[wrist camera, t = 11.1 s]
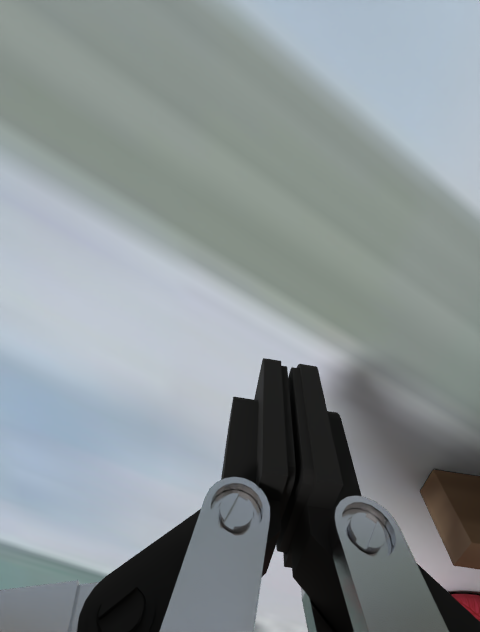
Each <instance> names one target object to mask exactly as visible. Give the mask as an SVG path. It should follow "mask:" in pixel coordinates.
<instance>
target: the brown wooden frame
mask: <svg viewBox="0 0 480 632" xmlns="http://www.w3.org/2000/svg"><path fill="white" fill-rule="evenodd" d="M420 493H421V495H422V497H423V499H424V502H425V504H426V506H427V508H428V510H429V512H430V515H431V517H432V519H433V521H434V523H435V526H436V528H437V530H438V532H439V534H440V537H441V539H442V541H443V543H444V545H445V548H446V550H447V552H448V554H449V556H450V559H451V561H452V563H453V565H454V566H461V567H467V568H474V569H480V476H473V475H467V474H460V473H454V472H447V471H440V470H434V469H433V471H432V472H431V474H430V476H429V477H428V479H427V481H426V482H425V484H424V486H423V487H422V489H421V490H420Z"/></svg>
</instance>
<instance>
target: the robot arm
mask: <svg viewBox="0 0 480 632" xmlns="http://www.w3.org/2000/svg"><path fill="white" fill-rule="evenodd" d="M275 546H276V547H277V551H279V552H284V567H290V568H292V571H293V578H294V579H295V580H296V581H297V583H298V584H299V585H300V586H301V592H302V602H303V607H304V612H305V617H306V623H307V628H308V632H480V621H479V620H478V619H477V618H475V617H474V616H473V615H472V614H471V613H470V612H469V611H468V610H467V609H466V608H465V607H464V606H462V605H461V604H460V603H459V602H458V601H457V600H456V599H455V598H454V597H453V596H452V595H451V594H449V593H448V592H447V591H446V590H445V589H444V588H443V587H442V586H441V585H440V584H439V583H438V582H436V581H435V580H434V579H433V578H432V577H431V576H430V575H429V574H428V573H427V572H426V571H425V570H423V569H422V568H421V567H420V566H419V565H418V564H417V563H416V561H415V559H414V557H413V555H412V553H411V551H410V549H409V546H408V544H407V542H406V540H405V538H404V536H403V534H402V532H401V530H400V528H399V526H398V524H397V523H396V521H395V519H394V518H393V517H392V516H391V514H390V513H389V512H388V511H387V510H386V509H385V508H384V507H382V506H381V505H379V504H378V503H377V502H375V501H373V500H371V499H368V498H366V497H362V496H361V493H360V489H359V485H358V481H357V477H356V474H355V470H354V466H353V462H352V459H351V455H350V451H349V447H348V443H347V440H346V436H345V432H344V428H343V425H342V421H341V418H340V415H339V414H338V413H335V412H329V411H327V408H326V404H325V399H324V395H323V390H322V386H321V381H320V377H319V372H318V368H317V367H316V366H310V365H303V364H298V366H297V368H291V370H290V374H289V377H288V372H287V367H286V366H281V361H277V360H271V359H264V358H263V361H262V365H261V370H260V375H259V380H258V385H257V389H256V394H255V399H254V400H252V399H245V398H239V397H233V403H232V409H231V415H230V421H229V428H228V434H227V441H226V449H225V456H224V464H223V471H222V478H221V480H220V481H218V482H216V483H215V484H214V485H213V486H212V487H211V488H210V489H209V491H208V493H207V495H206V497H205V499H204V502H203V505H202V508H201V509H200V510H199V511H197V512H196V513H195V514H193V515H192V516H190V517H189V518H188V519H186V520H185V521H183V522H182V523H180V524H179V525H178V526H176V527H175V528H173V529H172V530H171V531H169V532H168V533H166V534H165V535H164V536H162V537H161V538H159V539H158V540H157V541H155V542H154V543H152V544H151V545H150V546H148V547H147V548H145V549H144V550H143V551H141V552H140V553H138V554H137V555H135V556H134V557H133V558H131V559H130V560H128V561H127V562H126V563H124V564H123V565H121V566H120V567H119V568H117V569H116V570H114V571H113V572H112V573H110V574H109V575H107V576H106V577H105V578H104V579H103V580H102V581H100V582H96V583H88V584H80V585H79V581H78V580H77V581H69V582H61V583H53V584H45V585H37V586H29V587H20V588H12V589H4V590H0V632H254V626H255V619H256V612H257V605H258V598H259V591H260V584H261V577H262V576H263V575H264V574H265V573H266V572H267V569H268V566H269V563H270V560H271V557H272V554H273V552H274V549H275Z"/></svg>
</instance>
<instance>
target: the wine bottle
mask: <svg viewBox="0 0 480 632" xmlns="http://www.w3.org/2000/svg"><path fill="white" fill-rule="evenodd" d="M451 595H452V596H453V597H454V598H455V599H456V600H457V601H458V602H459V603H460V604H461V605H462V606H464V607H465V608H466V609H467V610H468V611H469V612H470V613H471V614H472V615H473V616H474V617H475V618H477V619H478V620H479V621H480V596H479V595H472V594H451Z"/></svg>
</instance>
